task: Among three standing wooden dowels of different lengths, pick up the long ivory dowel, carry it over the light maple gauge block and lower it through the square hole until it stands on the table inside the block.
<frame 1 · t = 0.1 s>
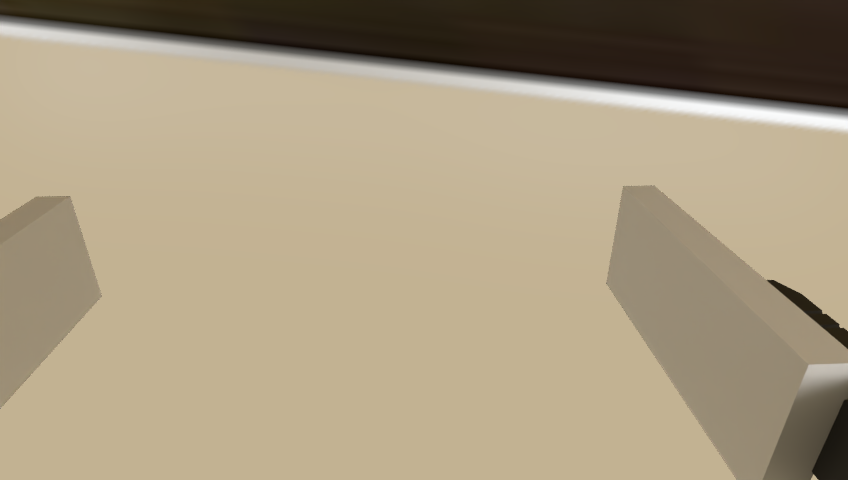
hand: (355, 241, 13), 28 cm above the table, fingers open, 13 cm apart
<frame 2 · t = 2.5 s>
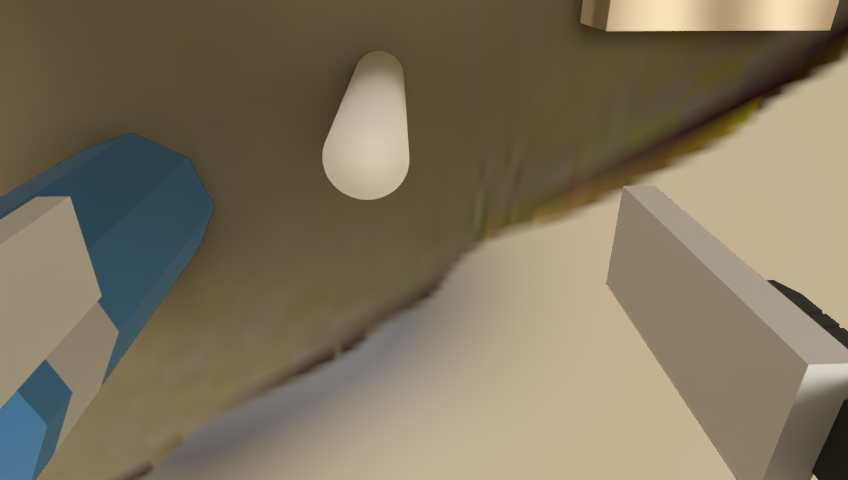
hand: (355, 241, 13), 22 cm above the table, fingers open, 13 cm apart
water bottle: (143, 200, 36), on the table
long pin: (379, 76, 33), on the table
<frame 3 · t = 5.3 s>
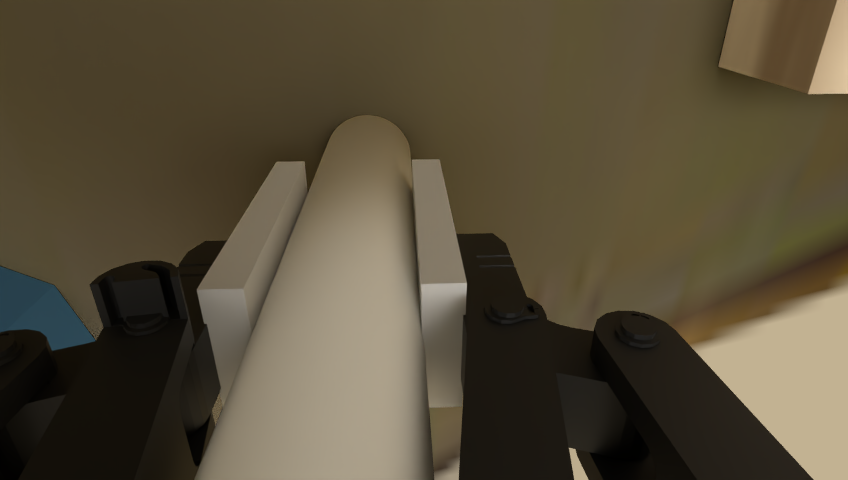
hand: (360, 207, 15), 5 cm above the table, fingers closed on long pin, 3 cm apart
long pin: (368, 156, 19), on the table, touching gripper
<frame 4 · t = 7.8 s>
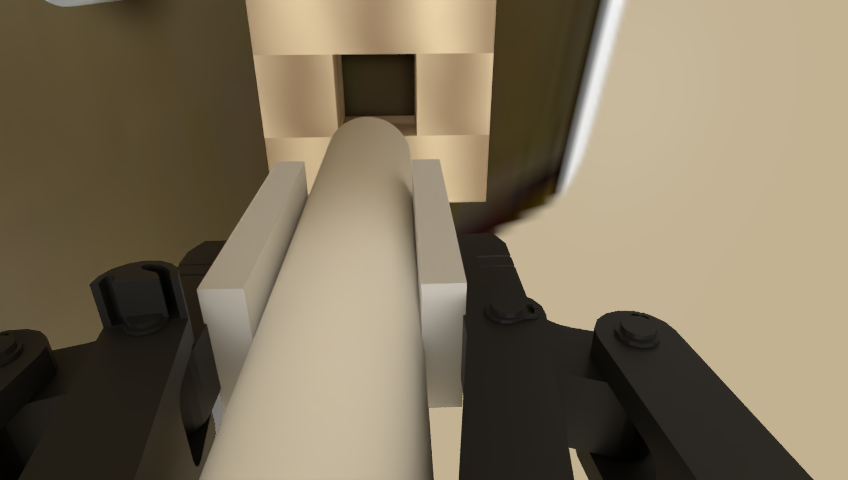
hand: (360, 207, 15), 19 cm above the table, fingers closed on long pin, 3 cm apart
gauge block: (378, 80, 32), on the table
long pin: (369, 158, 20), point 14 cm above the table, touching gripper
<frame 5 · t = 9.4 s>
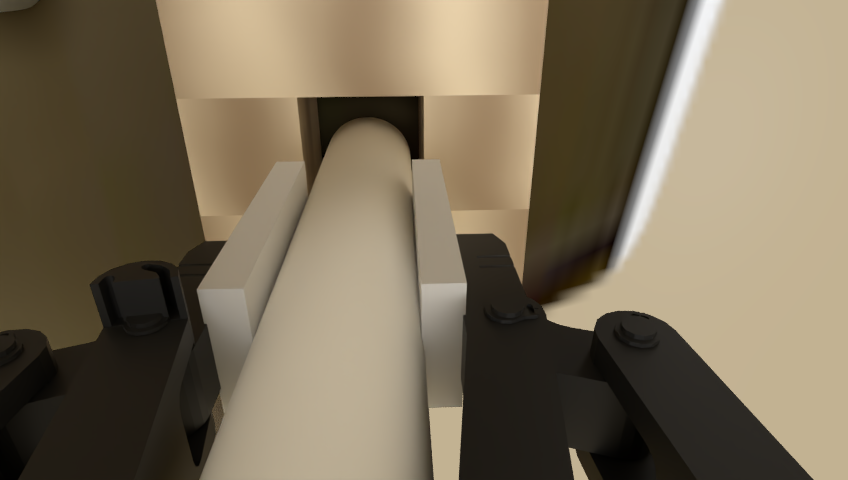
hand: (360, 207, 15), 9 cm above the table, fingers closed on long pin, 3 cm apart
gauge block: (369, 124, 23), on the table
long pin: (369, 158, 20), point 4 cm above the table, touching gripper
when the fingers open (7 cm above the table, at t = 10.5 s): long pin drops 2 cm, resting in gauge block.
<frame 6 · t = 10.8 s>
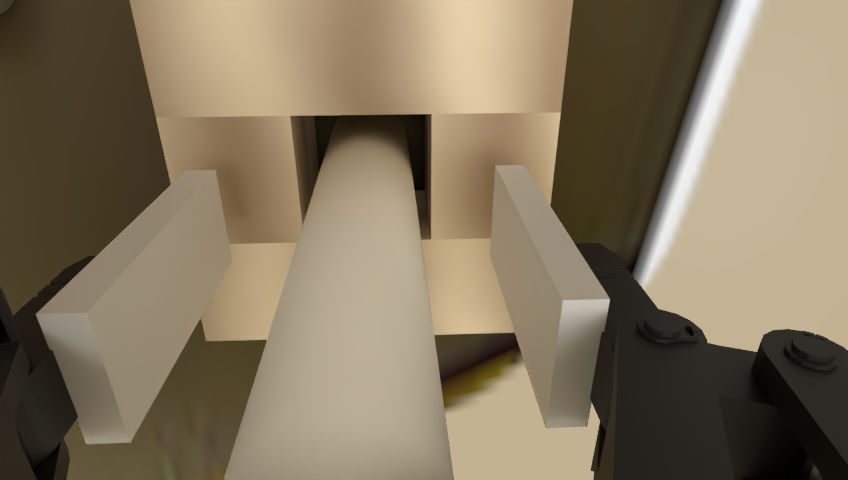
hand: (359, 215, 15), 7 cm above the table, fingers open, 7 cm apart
gauge block: (370, 140, 21), on the table
long pin: (369, 144, 21), resting in gauge block
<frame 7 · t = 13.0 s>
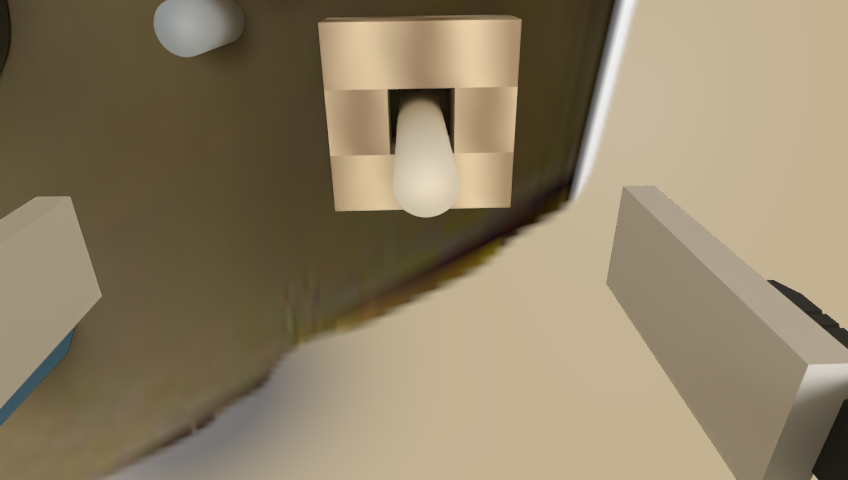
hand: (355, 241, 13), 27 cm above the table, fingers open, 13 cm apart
water bottle: (20, 317, 46), on the table
short pin: (221, 19, 36), on the table
gauge block: (420, 106, 39), on the table
long pin: (419, 108, 39), resting in gauge block
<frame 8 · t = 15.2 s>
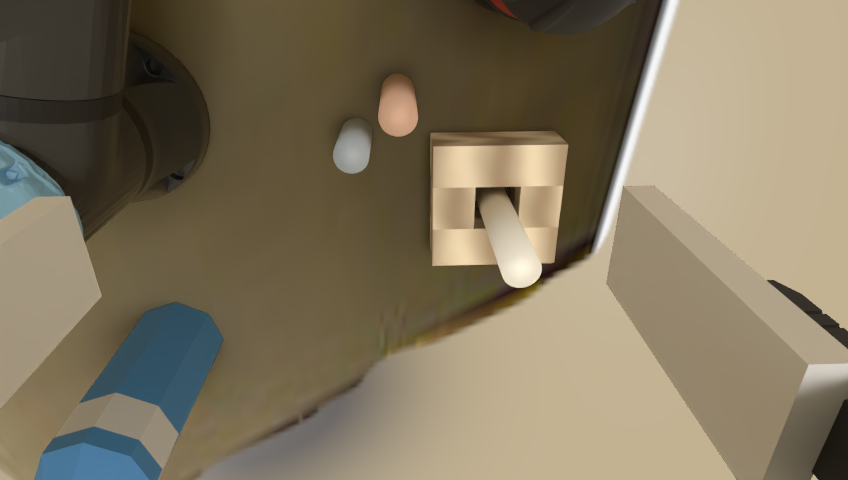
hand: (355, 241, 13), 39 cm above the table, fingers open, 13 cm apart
water bottle: (181, 336, 61), on the table
short pin: (356, 133, 51), on the table
medium pin: (397, 90, 50), on the table
gauge block: (489, 190, 55), on the table
long pin: (488, 191, 55), resting in gauge block
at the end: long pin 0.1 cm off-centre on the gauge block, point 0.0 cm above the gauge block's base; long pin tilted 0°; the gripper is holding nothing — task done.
